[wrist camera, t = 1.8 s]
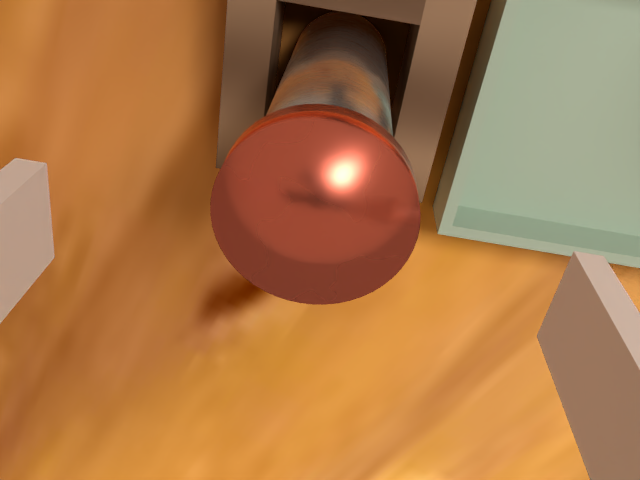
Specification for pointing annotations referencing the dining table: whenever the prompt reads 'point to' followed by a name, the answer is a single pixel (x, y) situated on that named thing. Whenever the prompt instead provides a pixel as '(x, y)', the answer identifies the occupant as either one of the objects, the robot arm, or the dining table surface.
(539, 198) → the tray
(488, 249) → the dining table surface
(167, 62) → the dining table surface
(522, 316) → the dining table surface
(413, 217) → the pin
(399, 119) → the socket block
